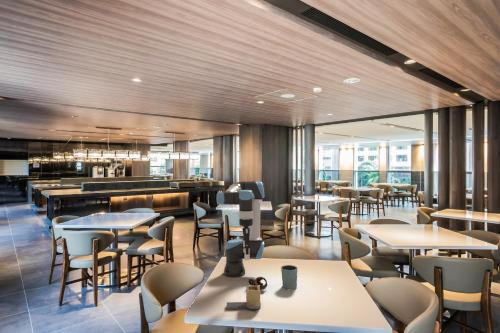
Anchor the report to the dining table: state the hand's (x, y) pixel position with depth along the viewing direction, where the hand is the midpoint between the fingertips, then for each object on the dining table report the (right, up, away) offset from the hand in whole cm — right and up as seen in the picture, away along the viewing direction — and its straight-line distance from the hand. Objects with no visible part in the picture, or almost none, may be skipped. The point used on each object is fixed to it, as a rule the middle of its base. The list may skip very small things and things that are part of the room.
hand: (246, 256), depth 166 cm
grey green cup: (+26, -25, +18) cm, 41 cm away
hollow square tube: (+4, -22, -9) cm, 24 cm away
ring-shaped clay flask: (+7, -25, +16) cm, 30 cm away
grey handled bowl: (-2, -24, -9) cm, 26 cm away
